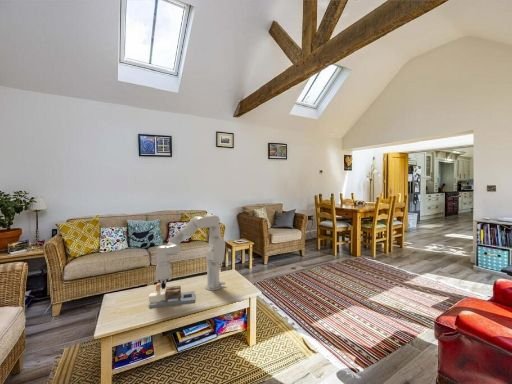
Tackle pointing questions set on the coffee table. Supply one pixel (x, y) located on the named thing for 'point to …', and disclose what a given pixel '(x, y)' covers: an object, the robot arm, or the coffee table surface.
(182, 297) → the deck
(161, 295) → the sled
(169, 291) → the tunnel
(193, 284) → the coffee table surface
